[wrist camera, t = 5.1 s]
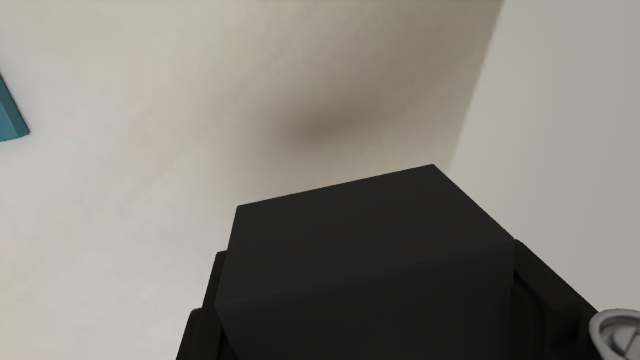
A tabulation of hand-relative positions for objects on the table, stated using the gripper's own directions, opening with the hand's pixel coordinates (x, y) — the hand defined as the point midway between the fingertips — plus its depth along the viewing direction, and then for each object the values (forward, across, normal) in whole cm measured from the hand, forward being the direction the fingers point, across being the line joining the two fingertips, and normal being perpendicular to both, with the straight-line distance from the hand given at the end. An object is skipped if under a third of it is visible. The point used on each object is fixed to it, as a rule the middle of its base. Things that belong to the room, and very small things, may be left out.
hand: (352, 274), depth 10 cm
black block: (0, 0, 0) cm, 0 cm away
